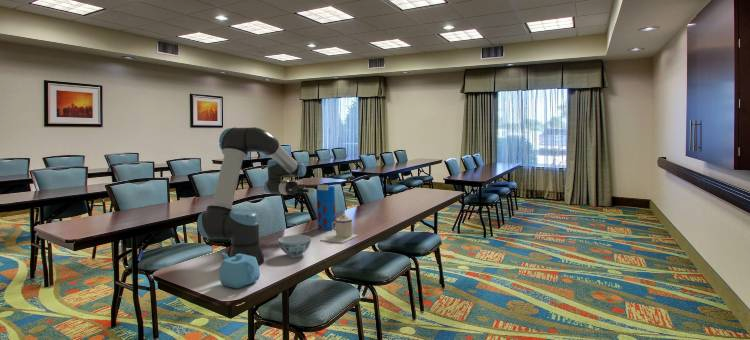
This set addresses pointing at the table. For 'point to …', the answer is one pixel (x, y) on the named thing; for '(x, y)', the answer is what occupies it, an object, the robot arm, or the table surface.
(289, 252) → the chinaware
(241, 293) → the table surface
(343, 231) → the teacup with lid
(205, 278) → the table surface
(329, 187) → the blue tall box
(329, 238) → the mat
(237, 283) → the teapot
